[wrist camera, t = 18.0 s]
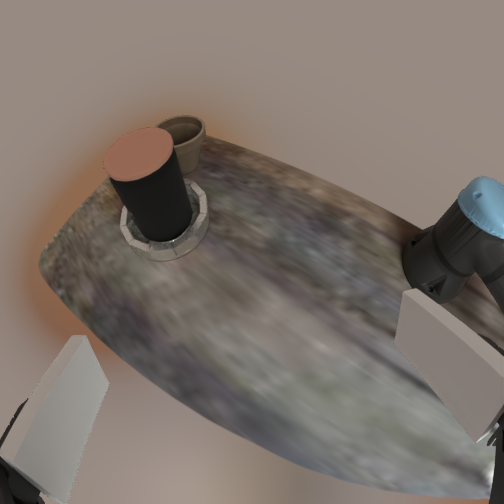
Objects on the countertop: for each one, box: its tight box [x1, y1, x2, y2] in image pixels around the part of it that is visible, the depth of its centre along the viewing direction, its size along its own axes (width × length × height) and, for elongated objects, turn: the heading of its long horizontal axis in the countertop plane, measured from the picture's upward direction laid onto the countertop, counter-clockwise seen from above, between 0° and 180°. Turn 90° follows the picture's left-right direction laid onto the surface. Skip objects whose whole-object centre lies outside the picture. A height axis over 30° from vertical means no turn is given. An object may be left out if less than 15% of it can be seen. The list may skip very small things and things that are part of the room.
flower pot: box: [154, 115, 206, 174], centre depth 53 cm, size 12×11×10 cm
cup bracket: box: [120, 178, 209, 261], centre depth 49 cm, size 16×16×4 cm
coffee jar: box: [103, 127, 192, 242], centre depth 42 cm, size 11×11×18 cm
